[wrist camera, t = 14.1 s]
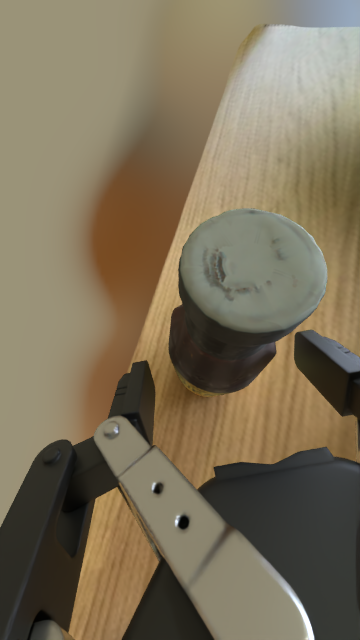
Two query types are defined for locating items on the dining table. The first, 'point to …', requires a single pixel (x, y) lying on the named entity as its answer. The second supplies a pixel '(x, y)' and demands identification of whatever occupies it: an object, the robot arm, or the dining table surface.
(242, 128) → the dining table surface
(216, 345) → the sauce bottle
